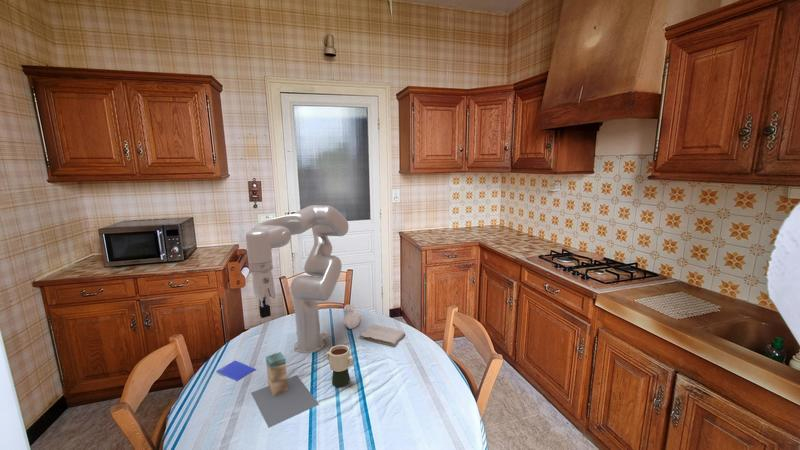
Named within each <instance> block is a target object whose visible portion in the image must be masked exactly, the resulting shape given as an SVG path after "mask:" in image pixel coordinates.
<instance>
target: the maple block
mask: <svg viewBox="0 0 800 450" xmlns="http://www.w3.org/2000/svg"><path fill="white" fill-rule="evenodd" d="M265 362H266V363H265V364H266V374H267V381H268V382H267V386H269V390H270V391H271V393H272V395H273V396H275V395H277V394H279V393H282V392H284V391H287V390H288V384H287V378H288V375H287V364H286V363H287V362H286V357H285V356H284V354H283V353H282V352H281V351H280V352H276V353H274V354H271V355H267V356H265Z"/></svg>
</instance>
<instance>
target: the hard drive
mask: <svg viewBox="0 0 800 450" xmlns="http://www.w3.org/2000/svg"><path fill="white" fill-rule="evenodd" d="M256 371H257V369H256V368H255V367H252V366H250V365H247V364H245V363H242V362H240V361H238V360H233V361H231V362H230V363H228V364H226V365H224V366H223V367H220V368H219V369H217V370H216V372H215V373H216V374H217V375H218V376H222V377H224V378H225V377H226V378H229V379H231V380H234V381H235V382H239V381H241V380H242V379H244V378H245V377H247V376H249V375H250V374H252V373H253V372H256Z"/></svg>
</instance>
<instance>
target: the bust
mask: <svg viewBox="0 0 800 450" xmlns="http://www.w3.org/2000/svg"><path fill="white" fill-rule="evenodd" d="M355 309H356V308H355V306H354V304H353V303H352V304H345V306H344V307H343V310H344V312H345V313H346V314H345V316H344V318H343V319H344V320H343V323H344V325H345V327H347V328H348V329H349V330H351V329H355V328H356V327H357V326H359V325H360V322H361V318H362V316H361V313H360V311H359V310H355Z"/></svg>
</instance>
